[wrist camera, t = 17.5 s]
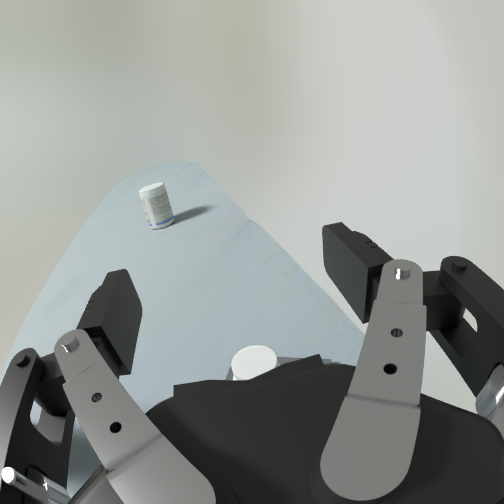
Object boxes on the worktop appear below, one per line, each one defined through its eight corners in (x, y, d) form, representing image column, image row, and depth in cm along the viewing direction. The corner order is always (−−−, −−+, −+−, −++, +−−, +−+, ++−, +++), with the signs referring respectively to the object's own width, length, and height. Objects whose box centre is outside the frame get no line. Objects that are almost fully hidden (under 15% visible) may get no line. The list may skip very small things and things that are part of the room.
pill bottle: (281, 386, 35) (273, 334, 31) (297, 419, 30) (291, 372, 26) (239, 399, 34) (221, 350, 30) (250, 434, 29) (233, 390, 25)
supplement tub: (178, 218, 106) (168, 180, 99) (168, 228, 98) (157, 188, 91) (156, 220, 108) (146, 184, 101) (145, 231, 100) (133, 192, 93)
